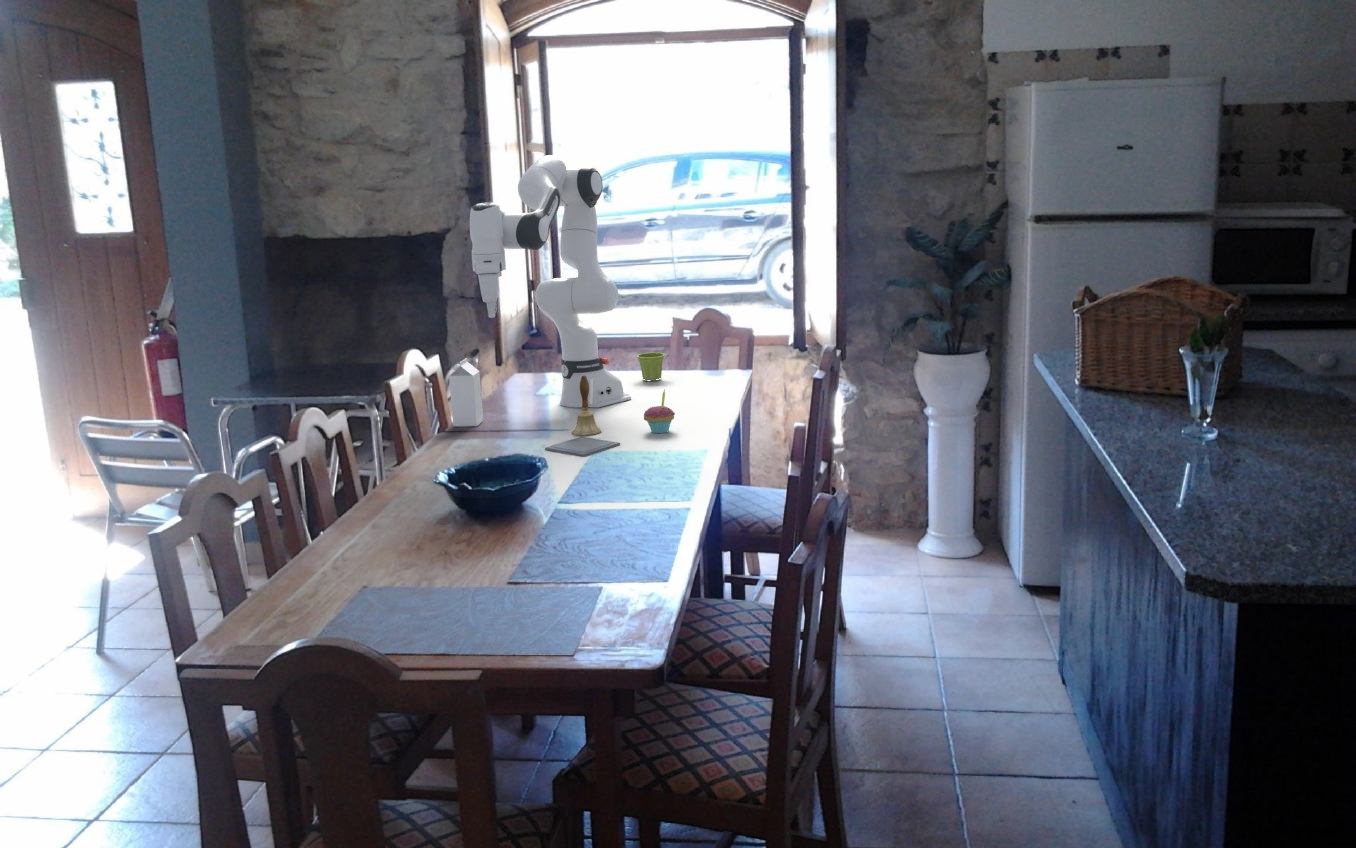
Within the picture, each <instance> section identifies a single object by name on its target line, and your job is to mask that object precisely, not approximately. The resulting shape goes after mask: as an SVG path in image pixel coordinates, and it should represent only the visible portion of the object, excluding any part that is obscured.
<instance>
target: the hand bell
mask: <svg viewBox="0 0 1356 848" xmlns="http://www.w3.org/2000/svg"><path fill="white" fill-rule="evenodd" d="M580 393H581V396H582V407H581V411H580V412H578V414H577V419H576V425H575V426H574V428H573V429H572V431H571V435H574V436H582V437H585V436H593V435H598V434H600V433H602V428H600V427H599V426H598V424H597V423H596V420H595V416H594V415H595V413H594V412H592V411H590V410H589V407H588V394H589V383H588V380H587V378H586V376H582V377H581V381H580Z"/></svg>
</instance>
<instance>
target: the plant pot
mask: <svg viewBox="0 0 1356 848" xmlns="http://www.w3.org/2000/svg"><path fill="white" fill-rule="evenodd" d="M664 357H665V353H663V352H646V353H640V354H637V355H636V358H637V359H638V362H639V366H640V369H641V375H642V380H643V379H645V380H653V381H654V380H656V379H659V378H661V379H662V372H663V371H662V370H663V361H664Z"/></svg>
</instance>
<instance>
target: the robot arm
mask: <svg viewBox="0 0 1356 848" xmlns="http://www.w3.org/2000/svg"><path fill="white" fill-rule="evenodd" d="M603 186H604V184H603V178H602V175H601V174H600V172H599V171H598V170H597V169H596V167H592V166H586V165H585V166H581V167H579V166H578V167H575V166H574V167H567V166H566V164H565V162H564V161H563V160H562V159H561V158H560V157H558V156H556V155H553V154H552V155H551V154H549V155H547V154H546V155H544V156H542V157H541V158H539V159H537V160H536V161H535V162H534V163H532V164H531V165H530V166H529V167H528V168H527V169H526V171H525V172H524V173H523V175H522V176H521V177H520V179H519V180H518V184H517V192H518V195H519V198H520V200H521V201H522V202H523V203H524V205H526V206H527V207H528V208H529V209H531V210H533V211H532V212H521V213H519V212H517V213H516V212H514V213H513V212H512V213H509V212H508V213H507V212H505V211H502V210H501V208H500V205H499V203H497V202H495V201H485V202H480V203H476V204H474V205H472V206H471V207H470V212H469V236H470V237H469V238H470V241H471V244H472V246H471V247H472V249H471V261H472V262H471V263H472V272H475V274H476V275H477V277H478V283H479V284H478V285H479V288H480V294H481V295H480V296H481V299H482V301H483V303H486V309H487V316H488V318H490V319H493V318H495V317H496V313H497V312H498V311H497V310H498V307H497V306H498V305H497V300H498V297H499V295H500V279H499V277H502V275H503V273H502V271H505V270H507V268H506V267H507V265H506V251H505V250H506V249H507V250H524V249H525V250H528V251H529V250H531V251H532V250H533V251H538V250H540V249H541V248H542V247H543V246H544V245H545V244H546V243H547V241H548V239H549V235H550V229H551V227H552V224H553V222H554V219H555V218H556V215H557V214H558V211H559V208H560V207H563V208H564V211H563V215H562V221H561V232H560V258H561V261H562V262H563V263H565V264H566V265H567V266H570V267H571V268H574V269H576V270H577V276H576V277H555V278H550V279H546V280H542V281H540V283H539V284H538V285H537V287H536V289H535V293H534V295H535V297H534V298H535V302H536V303H535V304H536V306H538V308H539V310H540V311H542V312H543V313H544V314H546V315H547V316H548V317H549V318H550V320H552V322H553V323H554V325H555V327H556V329H557V331H558V333H559V334H558V335H559V338H560V344H561V345H560V347H561V356H562V357H561V359H560V360H561V361H560V365H561V375H562V388H561V389H562V390H561V397H560V402H559V405H560V406H563V407H567V408H582V396H581V393H580V381H581V377H582V376H586V378H587V380H588V383H589V394H588V408H601V407H606V406H610V405H613V404H619V403H621V402H626V401H630V400H631V399H632V396H631V395H630V394H629V393H626V392H624V387H623V384H622V381H621V380H620V378H619V377H617V376H616V375H614V374H613V373H611V372H610V371H608V369H606V368H604V365H605V366H608V365H610V359H609V358H607V357H603V358H601V357H600V356H599V350H598V349H599V348H598V345H599V344H598V336H597V332H596V331H595V330H594V329H593V328H592V327H590V326H589V325H587V324H585V323H583V322H582V321H581V320H580V318H579V316H578V314H594V315H595V314H596V315H597V314H601V313H602V314H603V313H607V312H612V311H613V310H614V309H615V307H616V305H617V304H618V301H619V289H618V287H617V285H616V283H615V282H614V281H613V280H612V279H610V277H608V276H607V275H606V274H605V273H604V271H603V269H602V267H601V266H600V263H599V259H598V218H597V212H596V204H597V202H598V200H599V199H600V197H601V195H602V192H603V189H604V188H603Z"/></svg>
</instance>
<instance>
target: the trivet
mask: <svg viewBox="0 0 1356 848" xmlns="http://www.w3.org/2000/svg"><path fill="white" fill-rule="evenodd" d="M618 446H621V443H620V442H617V441H611V440H606V439H605V440H604V439H601V438H600V439H599V438H593V437H587V436H582V435H580V436H578V437H574V438H572V439H569V440H566V441H561V442H558V443H556V444H552V445H549V446H546V447H544V450H545V451H550V452H556V453H561V454H565V455H566V454H567V455H573V456H579V457H584V458H585V457H587V456H588V457H589V456H590V455H594V454H596V453H600V452H602V451H605V450H609V449H613V448H615V447H618Z"/></svg>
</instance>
